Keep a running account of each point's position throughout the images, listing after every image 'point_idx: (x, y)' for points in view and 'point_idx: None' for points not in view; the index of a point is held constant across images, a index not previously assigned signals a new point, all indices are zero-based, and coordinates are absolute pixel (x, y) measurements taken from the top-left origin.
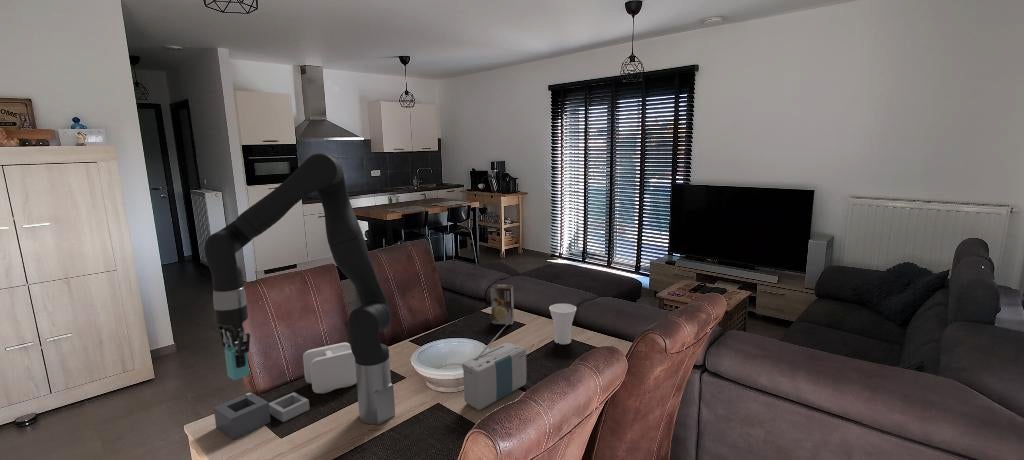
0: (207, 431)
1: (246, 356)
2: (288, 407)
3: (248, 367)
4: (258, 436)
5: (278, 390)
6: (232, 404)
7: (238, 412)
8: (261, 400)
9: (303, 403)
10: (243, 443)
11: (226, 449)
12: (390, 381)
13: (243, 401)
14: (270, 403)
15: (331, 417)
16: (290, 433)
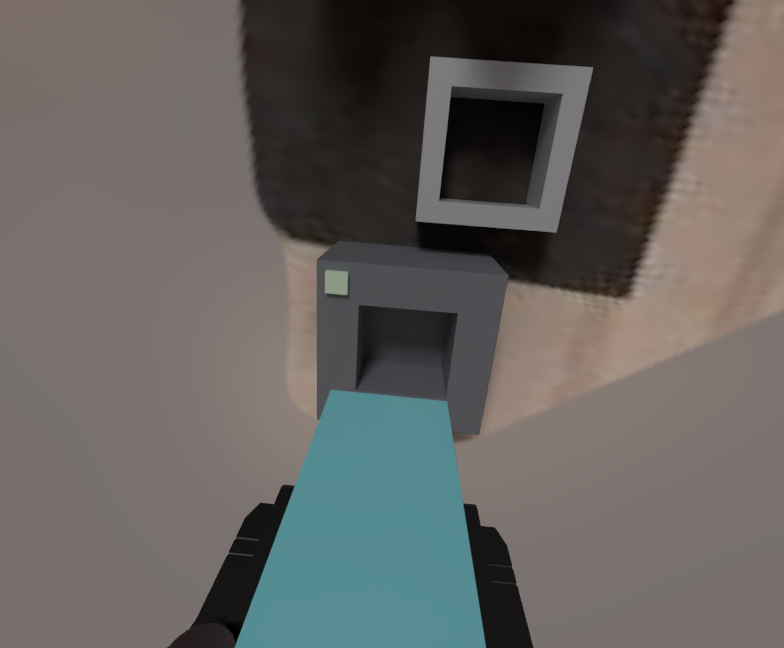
0: None
1: (468, 552)
2: (546, 186)
3: (452, 442)
4: (531, 333)
5: (242, 43)
6: (357, 365)
7: (459, 394)
8: (454, 282)
9: (581, 107)
10: (519, 379)
11: (496, 420)
12: None
13: (360, 316)
14: (425, 211)
15: (743, 69)
16: (639, 262)
